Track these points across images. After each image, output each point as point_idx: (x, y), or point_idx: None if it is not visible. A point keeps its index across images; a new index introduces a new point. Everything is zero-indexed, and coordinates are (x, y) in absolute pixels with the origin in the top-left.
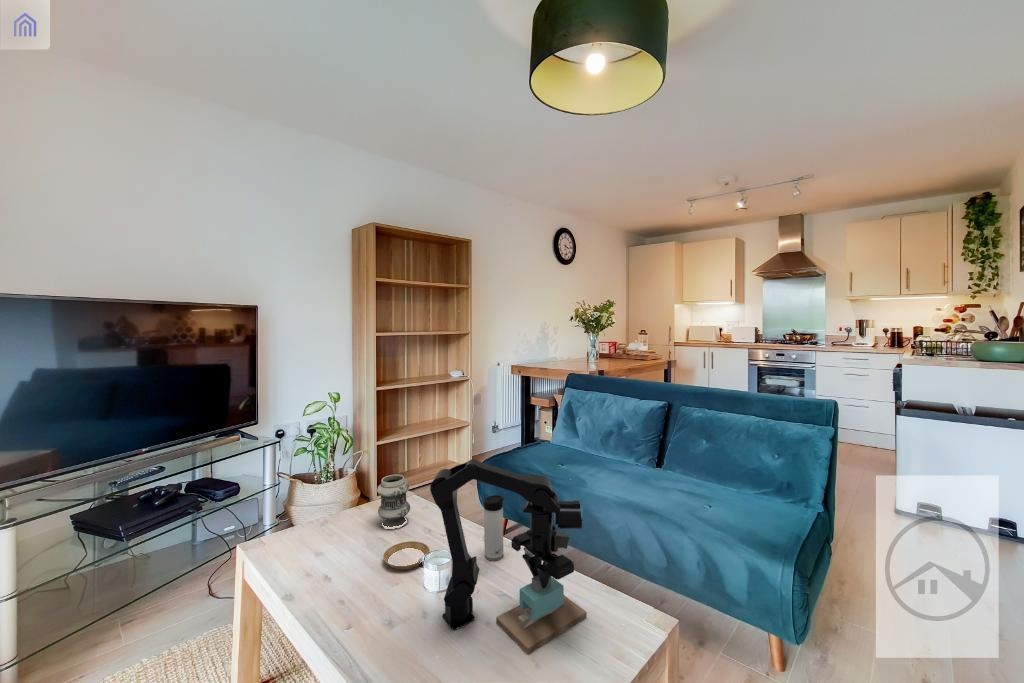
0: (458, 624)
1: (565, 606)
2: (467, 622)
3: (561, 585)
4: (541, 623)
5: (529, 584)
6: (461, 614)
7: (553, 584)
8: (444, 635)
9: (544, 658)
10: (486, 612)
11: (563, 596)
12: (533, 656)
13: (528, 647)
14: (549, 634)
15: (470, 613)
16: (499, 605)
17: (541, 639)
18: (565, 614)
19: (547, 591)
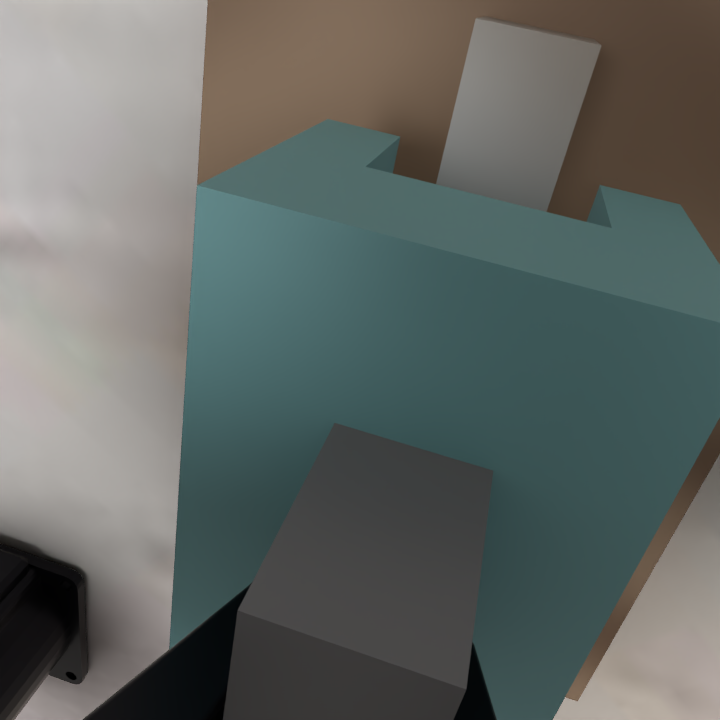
0: (68, 657)
1: (629, 43)
2: (82, 619)
3: (710, 360)
4: None
5: (183, 609)
6: (30, 696)
7: (512, 419)
8: (89, 707)
9: (712, 643)
10: (70, 486)
11: (705, 246)
12: (622, 656)
13: (577, 695)
14: (669, 532)
15: (32, 587)
16: (62, 382)
17: (628, 600)
18: (701, 187)
19: (528, 630)
